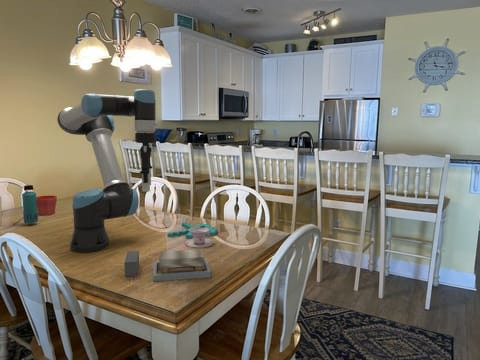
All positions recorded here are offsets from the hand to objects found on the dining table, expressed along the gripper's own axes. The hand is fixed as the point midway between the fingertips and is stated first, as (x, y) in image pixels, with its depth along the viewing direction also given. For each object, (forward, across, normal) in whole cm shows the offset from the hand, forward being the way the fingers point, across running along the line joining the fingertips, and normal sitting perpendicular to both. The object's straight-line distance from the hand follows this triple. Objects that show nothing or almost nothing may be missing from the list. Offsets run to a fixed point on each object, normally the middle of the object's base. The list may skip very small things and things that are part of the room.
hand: (146, 188), depth 140 cm
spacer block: (+27, -14, +5) cm, 31 cm away
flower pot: (+27, +75, +58) cm, 99 cm away
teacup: (+27, +11, -21) cm, 36 cm away
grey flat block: (+23, -19, -12) cm, 32 cm away
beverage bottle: (+27, +53, +59) cm, 84 cm away
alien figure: (+27, +27, -21) cm, 44 cm away
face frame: (+27, -19, -12) cm, 35 cm away
